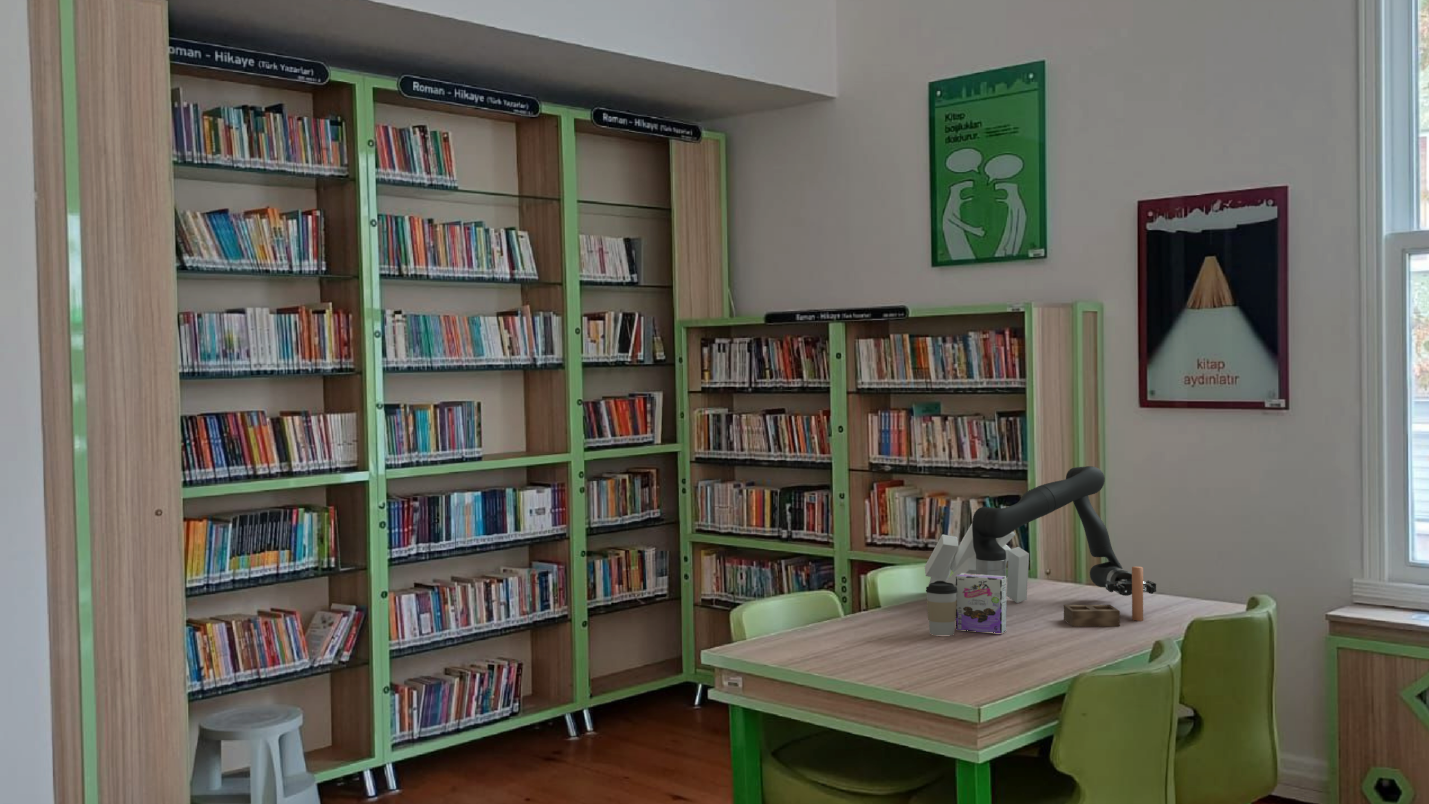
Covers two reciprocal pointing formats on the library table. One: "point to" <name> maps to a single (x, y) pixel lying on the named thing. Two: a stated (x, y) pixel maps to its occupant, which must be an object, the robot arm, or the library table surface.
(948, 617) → the coffee cup
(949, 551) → the pile of blocks
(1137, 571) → the peg
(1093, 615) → the hole block
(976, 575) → the candy box
